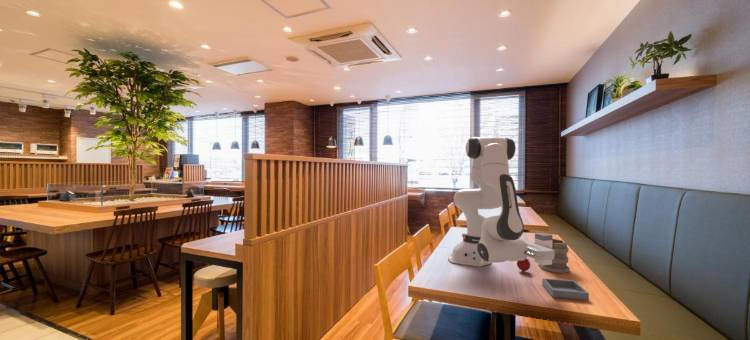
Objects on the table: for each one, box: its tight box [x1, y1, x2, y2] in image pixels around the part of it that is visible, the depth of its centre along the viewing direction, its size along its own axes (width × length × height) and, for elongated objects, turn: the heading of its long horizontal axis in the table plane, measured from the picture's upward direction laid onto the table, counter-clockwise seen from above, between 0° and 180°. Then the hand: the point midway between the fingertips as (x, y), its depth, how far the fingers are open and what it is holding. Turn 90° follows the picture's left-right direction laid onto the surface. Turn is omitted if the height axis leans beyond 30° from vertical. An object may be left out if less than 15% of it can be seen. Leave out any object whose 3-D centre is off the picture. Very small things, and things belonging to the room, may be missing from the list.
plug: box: [533, 232, 553, 265], centre depth 126 cm, size 4×4×12 cm
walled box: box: [541, 277, 590, 302], centre depth 124 cm, size 13×13×3 cm
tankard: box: [537, 238, 571, 274], centre depth 156 cm, size 20×13×15 cm, turn 168°
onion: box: [516, 257, 531, 273], centre depth 148 cm, size 6×6×8 cm
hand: (545, 247), depth 126 cm, fingers closed on plug, 4 cm apart
